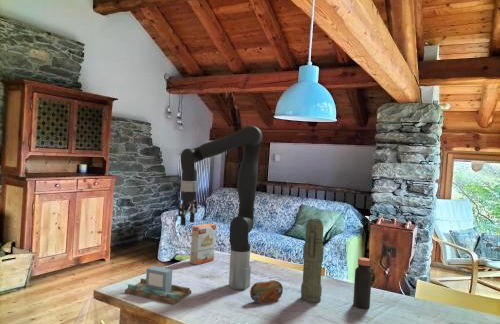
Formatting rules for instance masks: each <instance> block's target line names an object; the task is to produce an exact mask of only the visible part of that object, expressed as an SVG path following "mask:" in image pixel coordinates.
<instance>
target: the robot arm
mask: <svg viewBox="0 0 500 324" xmlns="http://www.w3.org/2000/svg"><path fill="white" fill-rule="evenodd" d="M262 132H263V131H262V130H261V129H260V128H258V127H257V126H255V125H248V126H246V127H243V128H242V129H240V130H238V131H236V132H235V133H231V134H229V135H227V136H224V137H221V138H218V139H214V140H212V141H208V142H206V143H203V144H201V145H199V146H197V147H195V148H184V149H183V150H182V151H181V154H180V165H181V166H180V167H181V170H182V171H181V183H180V184H181V185H180V201H182V203H178V208H177V209H178V211H177V216H178V217H180V226H186V222H187V221H186V219H187V217H186V216H187V215H188V214H189V222H190V223H195V217H196V214H198V201H197V197H198V196H197V195H198V194H197V192H198V184H197V183H198V181H197V179H198V178H197V177H198V172H197V169H196V168H195V163H198V162H200V161H203V160H205V159H209V158H213V157H216V156H218V155H221V154H223V153H226V152H227V151H230V150H233V149H234V148H235V149H236V148H238V147H243V156H242V159H241V160H242V161H241V163H240V166H239V170H238V173H237V181H236V190H237V197H238V201H239V204H238V205H239V206H238V212H237V216H235V217H233V218H232V219H231V221H230V225H229V245H230V252H229V253H230V256H229V270H228V271H229V275H228V287H229V288H230V289H233V290H247V289H248V288H249V287H250V285H251V271H252V270H251V269H252V266H251V265H250V264H251V261H250V258H251V244H250V242H249V234H250V232H251V231H252V230H253V228H254V223H255V222H254V220H255V216H254V213H255V211H254V210H255V209H254V207H255V206H254V205H255V200H256V192H257V191H256V190H257V186H258V176H259V175H258V173H259V172H258V171H259V155H260V150H261V146H262V141H263V133H262Z"/></svg>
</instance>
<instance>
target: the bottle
mask: <svg viewBox="0 0 500 324" xmlns="http://www.w3.org/2000/svg"><path fill="white" fill-rule="evenodd" d="M370 265H371V259H370V258H368V257H358V258H357V267H355V270H354V285H353V299H352V302H353V306H354V307H356V308H359V309H368V308H370V307H371V306H370V305H371V291H372V275H373V274H372V273H373V271H372V270H371V269H370Z"/></svg>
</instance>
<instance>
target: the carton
mask: <svg viewBox="0 0 500 324" xmlns="http://www.w3.org/2000/svg"><path fill="white" fill-rule="evenodd" d="M145 277H146V278H145V279H146V288H150V289H155V290H159V291H164V292H169V291H171V286H172V285H173V269H171V268H166V267H160V266H156V265H151V266H150V267H147V268H146V273H145Z"/></svg>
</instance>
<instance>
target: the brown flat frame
mask: <svg viewBox="0 0 500 324" xmlns="http://www.w3.org/2000/svg"><path fill="white" fill-rule="evenodd" d="M139 281H140V282H138V283H136V284H131V283H129V284H127V288H125V289H124V294H128V295H133V296H136V297H137V296H138V297H141V298H145V299H149V300H153V301H157V302H162V303H167V304H171V305H177V304H178V303H180V302H181V301H182V300H184V299H186V298H187V297H188V296H190V295H191V294H192V290H191V289H190V288H189V287H185V286H181V285H176V284H172V286H171V291H169V292H164V291H159V290H155V289H150V288H146V278H140V280H139Z"/></svg>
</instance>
